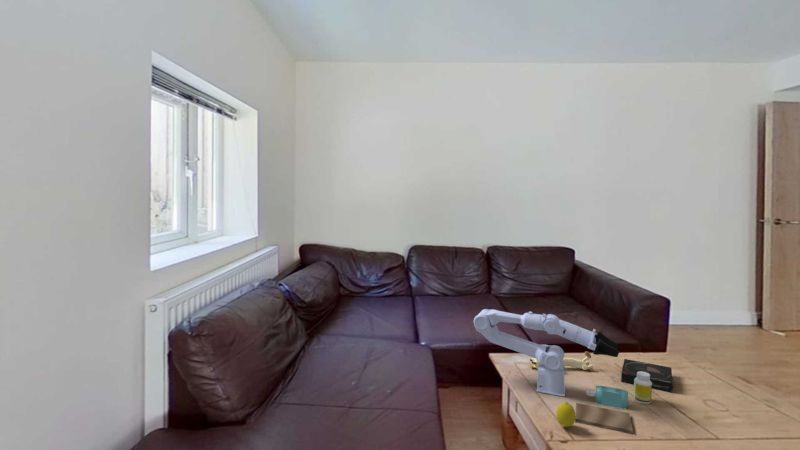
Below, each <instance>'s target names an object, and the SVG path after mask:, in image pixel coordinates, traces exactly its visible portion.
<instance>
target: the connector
mask: <svg viewBox="0 0 800 450" xmlns="http://www.w3.org/2000/svg"><path fill="white" fill-rule="evenodd" d="M585 395H586V396H591V397H595V398H594V399H595V400H594V401H595V402H596V404H599V405H601V406H608V407H611V408H612V407H613V408H618V409H623V410H624V408H625V409H626V410H627V409H628V407H629V404H628V403H629V392H628V391H627V390H625V389H622V388H615V387H611V386H605V385H596V386H595V390H592V389H591V390H589V389H586V390H585Z"/></svg>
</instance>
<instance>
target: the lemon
mask: <svg viewBox="0 0 800 450" xmlns="http://www.w3.org/2000/svg"><path fill="white" fill-rule="evenodd" d="M555 414H556V415H555V416H556V420H557V422H558V424H560V425H561V426H563V428H566V429H567V428H568V427H571V426H573V425H574V424H575V423H576V422H575V415H576V410H575V409H574V407H573V405H572V404H570V403H568V402H566V401H565V402H561V403H560V404H559V405H557V408H556V413H555Z"/></svg>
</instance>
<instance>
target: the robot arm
mask: <svg viewBox="0 0 800 450" xmlns="http://www.w3.org/2000/svg"><path fill="white" fill-rule="evenodd" d="M472 322H473V325H474V328H475V330H476V332H479V333H480V334H481V335H482V336H483V337H484V338H485V339H486V340H487V341H488V342H490V343H492V344H494V345H498V346H500V347H503V348H506V349H509V350H512V351H515V352H517V353H520V354H523V355H526V356H527V357H531V358H536V359H537V360H538V362H539V363H541V364H543V365H541V364H539V365H538V369H537V374H536V375H537V376H536V377H537V379H536V392H538V393H544V394H548V395H553V396H554V395H555V396H558V397H559V396H560V397H563V398H564V397H565V395H566V386H565V367H566V366H564V365H563V364H562V362H563V358H564V357H565V351H564V349H563V348H562V347H560V346H558V345H554V344H553V345H548V344H543V343H542V344H538V343H536V342H533V341H529V340H527V339H524V338H521V337H519V336H515V335H512V334H510V333H507V332H504V331H500V330H499V327H498V326H497V324H498V323H508V324H509V323H510V324H517V325H522V327H524V329H530V330H537V331H545V332H547V334H548V335H557V336H560V337H561V338H564V339H566V340H569V341H572V342H574V343H576V344H579V345H581V346H583V347H586V348H587V349H589V350H592V351H593V353H592V354H593V355H596V356H609V357H614V358H618V356H619V354H620V350H619V349H618V347H619V344H618V343H617V342H615V341H614V340H612V339H611V338H609V337H608V336H606V335H605V334H604V333H603V332H602V331H600V330H598V331H597V330H596V328H593V329H592V331H591V330H589V329H586V328H583V327H581V326H578V325H577V324H573V323H570V322H568V321H566V320H564V319H563V320H562V319H560V318H559V317H558V316H557V315H555V314H552V313H549V314H546V313H542V314H538V313H533V311H528V312H525V313H523V314H518V313H513V312H512V313H511V312H507V311H501V310H498V309H489V308H484V309H482V310H481V311H480V312H479V313H478V314H477V315H475V316H474V318H473V321H472ZM596 331H597V332H596Z"/></svg>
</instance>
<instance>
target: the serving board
mask: <svg viewBox="0 0 800 450" xmlns="http://www.w3.org/2000/svg"><path fill="white" fill-rule="evenodd" d="M630 414H631V413H629V412H625V411H621V410H614V409H611V408H604V407H601V406H594V405H589V404H584V403H578V402H576V404H575V422H574V423H581V424H584V425H589V426H593V427H599V428H603V429H607V430H612V431H617V432H623V433H626V434H630V435H633V434H634V433H633V431H634V430H633V426H632V420H631V415H630Z"/></svg>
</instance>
